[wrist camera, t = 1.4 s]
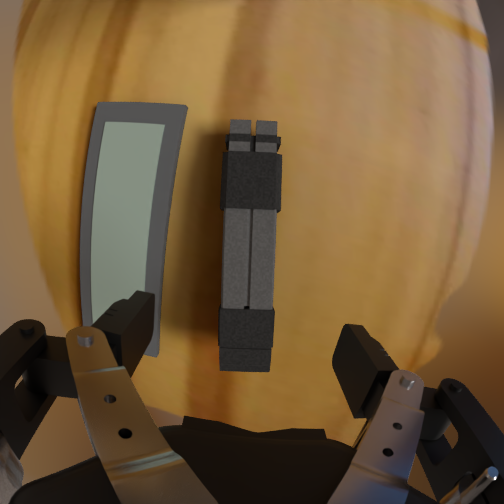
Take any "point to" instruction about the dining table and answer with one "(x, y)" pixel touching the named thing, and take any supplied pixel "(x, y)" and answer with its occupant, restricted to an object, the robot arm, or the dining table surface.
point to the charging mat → (128, 204)
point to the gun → (249, 245)
